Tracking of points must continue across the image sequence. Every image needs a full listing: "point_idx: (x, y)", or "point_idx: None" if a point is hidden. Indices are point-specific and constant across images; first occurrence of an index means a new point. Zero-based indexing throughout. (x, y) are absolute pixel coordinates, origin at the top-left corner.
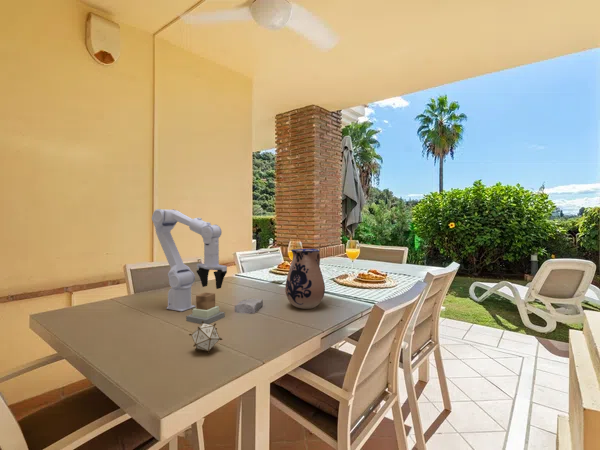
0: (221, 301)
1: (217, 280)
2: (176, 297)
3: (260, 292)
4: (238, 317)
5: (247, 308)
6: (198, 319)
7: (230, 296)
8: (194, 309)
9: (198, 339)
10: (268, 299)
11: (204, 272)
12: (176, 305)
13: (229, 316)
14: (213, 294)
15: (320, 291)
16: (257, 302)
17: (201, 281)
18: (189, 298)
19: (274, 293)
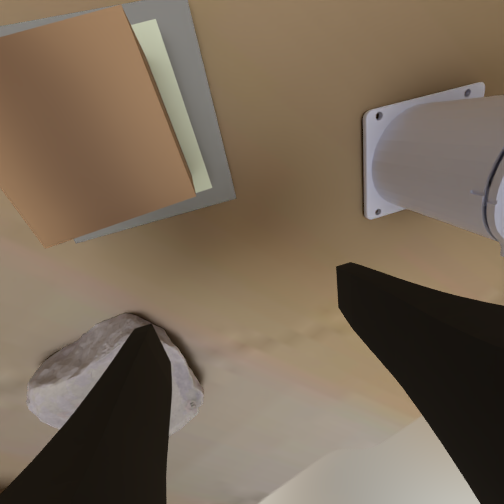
0: (329, 335)
1: (68, 426)
2: (483, 99)
3: (297, 468)
4: (20, 280)
5: (62, 362)
6: (49, 19)
7: (351, 384)
8: (132, 26)
9: None
10: (197, 463)
11: (499, 433)
12: (431, 104)
13: (76, 255)
14: (27, 219)
15: None
16: (59, 429)
17: (395, 282)
18: (411, 187)
19: (246, 494)
